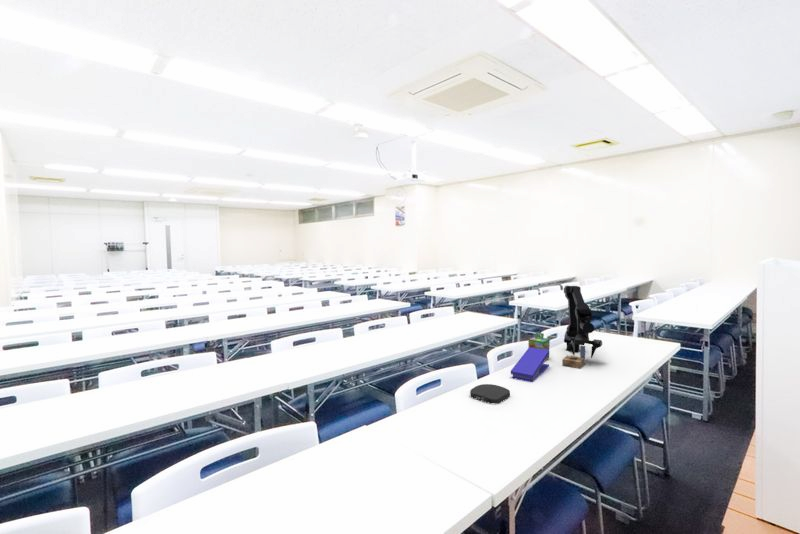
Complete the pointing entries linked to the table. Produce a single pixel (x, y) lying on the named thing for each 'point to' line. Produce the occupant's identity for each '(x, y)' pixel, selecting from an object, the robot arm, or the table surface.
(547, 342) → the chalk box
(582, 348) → the peg
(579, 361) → the socket
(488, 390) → the media streaming box
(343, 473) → the table surface
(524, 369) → the purple foot pedal
